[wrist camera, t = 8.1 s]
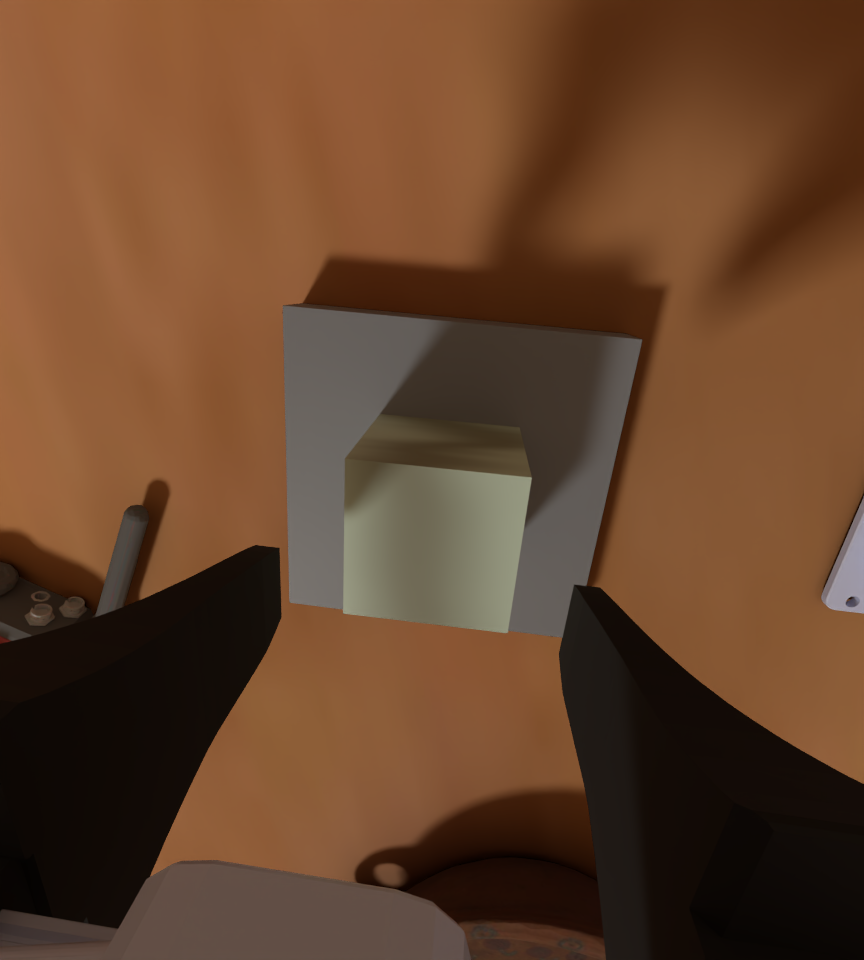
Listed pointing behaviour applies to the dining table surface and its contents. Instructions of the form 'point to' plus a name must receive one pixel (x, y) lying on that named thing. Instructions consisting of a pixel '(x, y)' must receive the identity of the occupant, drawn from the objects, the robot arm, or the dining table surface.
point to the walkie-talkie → (34, 610)
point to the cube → (434, 522)
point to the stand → (465, 398)
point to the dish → (520, 909)
